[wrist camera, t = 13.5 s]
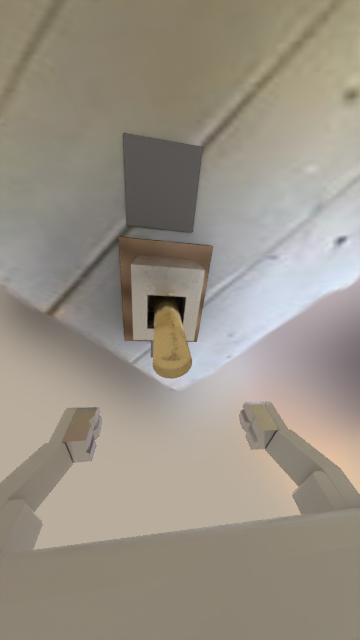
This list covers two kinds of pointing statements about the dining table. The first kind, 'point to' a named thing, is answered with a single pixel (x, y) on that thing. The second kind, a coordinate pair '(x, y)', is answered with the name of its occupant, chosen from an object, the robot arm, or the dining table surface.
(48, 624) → the robot arm
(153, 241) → the walnut base
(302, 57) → the dining table surface
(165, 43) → the dining table surface
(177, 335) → the brass pin
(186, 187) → the rubber mat
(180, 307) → the block
